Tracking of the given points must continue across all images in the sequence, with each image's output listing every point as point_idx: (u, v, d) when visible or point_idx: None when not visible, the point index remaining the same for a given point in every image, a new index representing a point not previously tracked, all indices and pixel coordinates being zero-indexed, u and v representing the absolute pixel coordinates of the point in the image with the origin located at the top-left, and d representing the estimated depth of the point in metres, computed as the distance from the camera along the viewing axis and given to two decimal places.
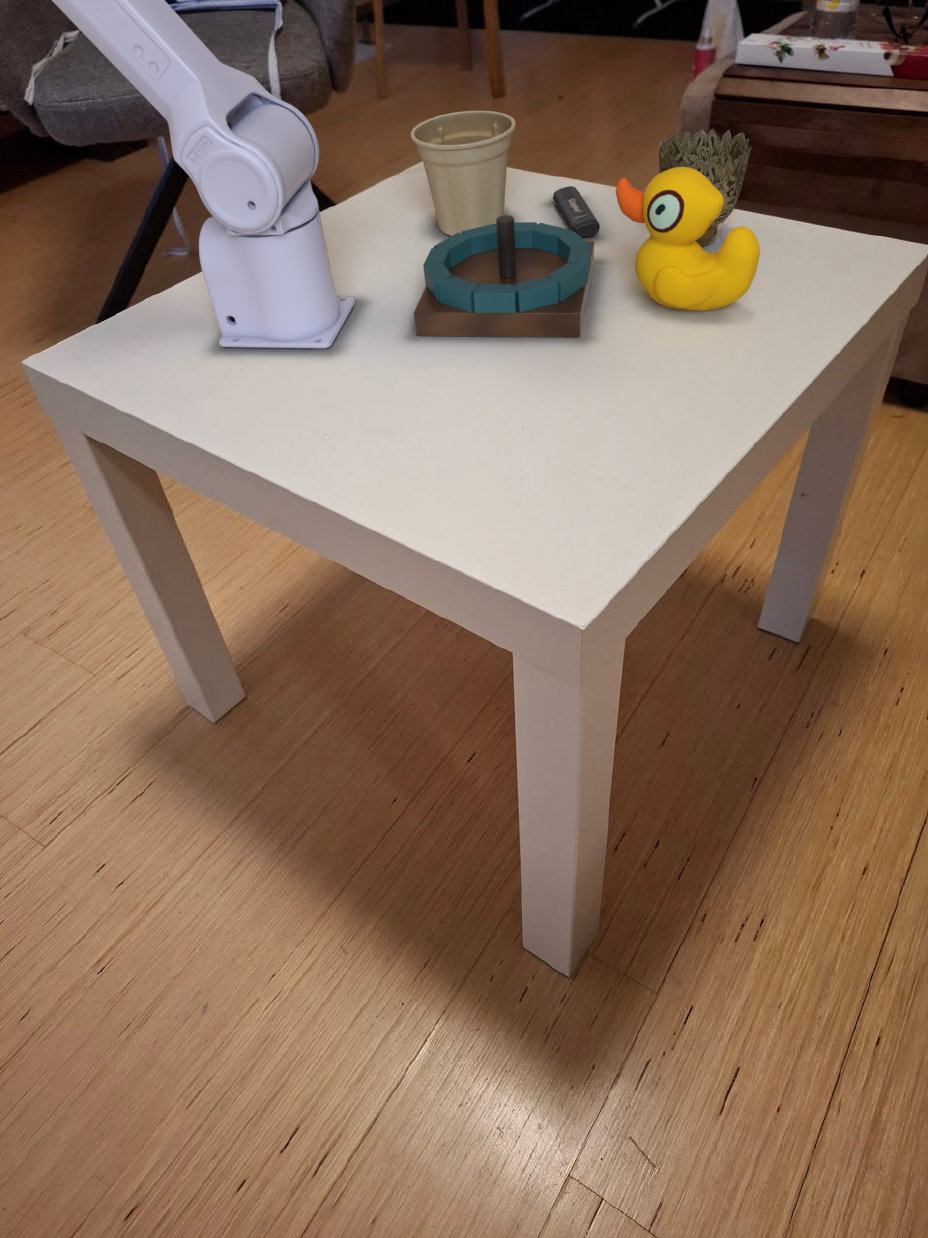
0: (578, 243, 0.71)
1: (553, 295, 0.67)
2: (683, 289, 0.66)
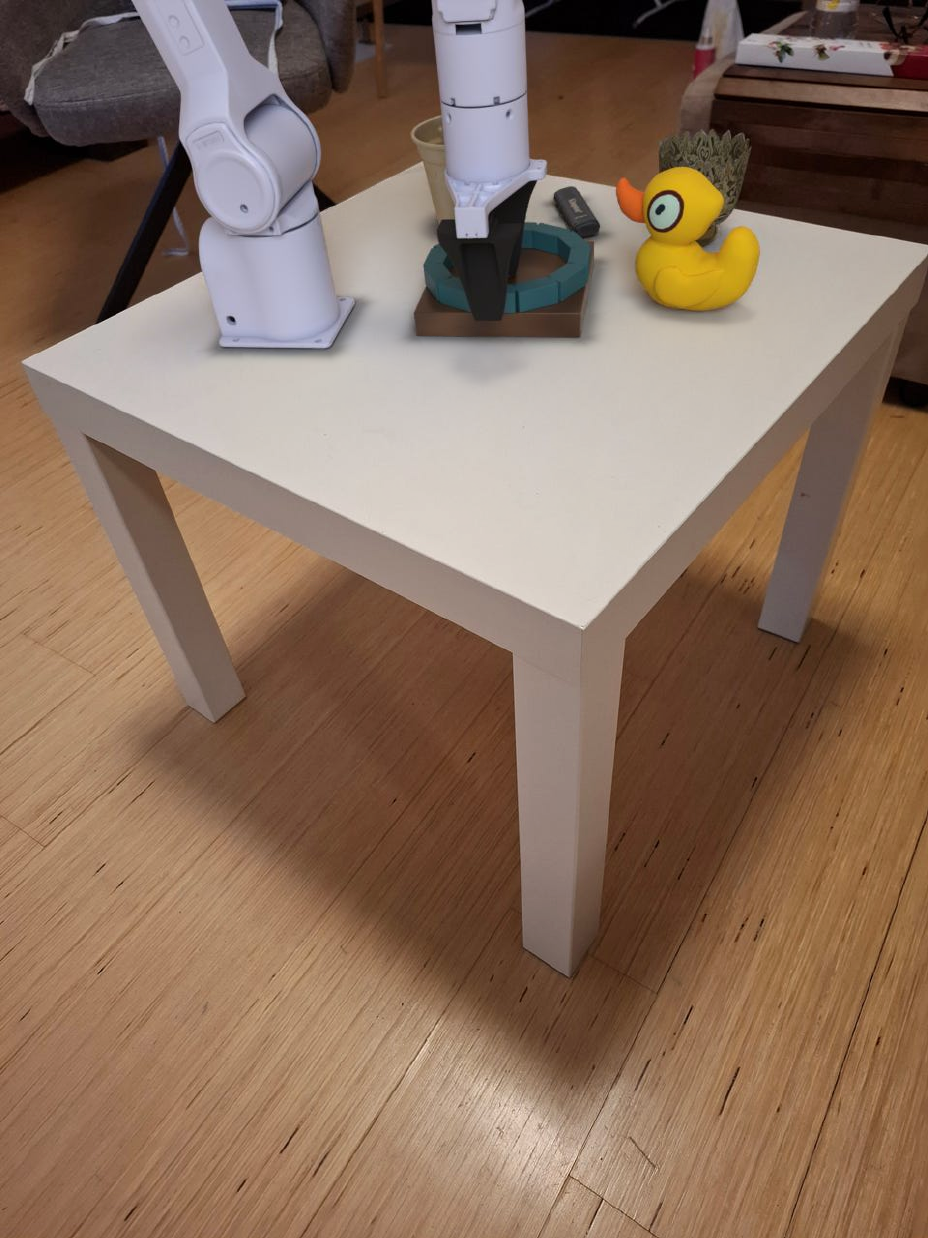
0: (578, 243, 0.71)
1: (553, 295, 0.67)
2: (683, 289, 0.66)
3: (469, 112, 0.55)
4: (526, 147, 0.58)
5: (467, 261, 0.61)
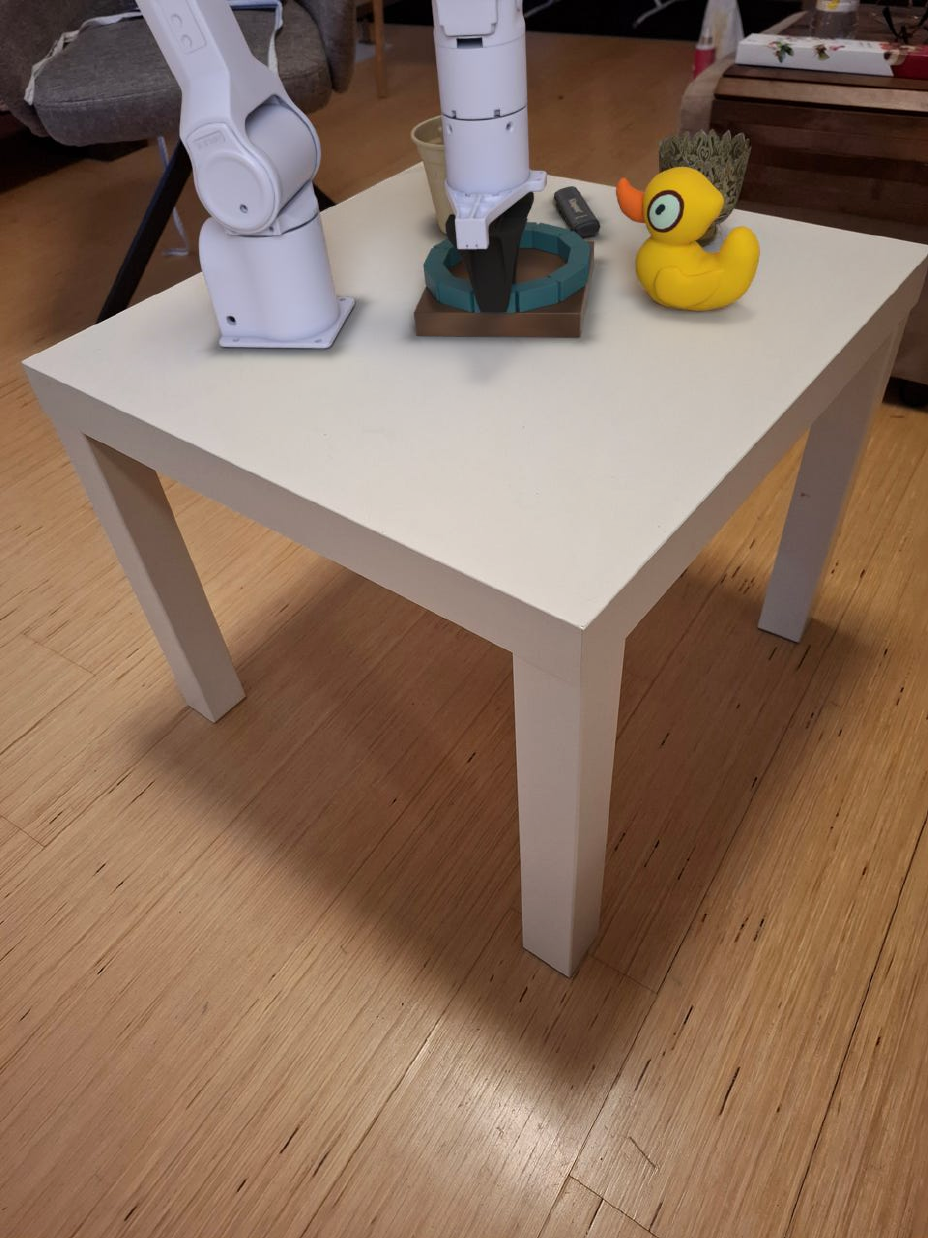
0: (578, 243, 0.71)
1: (553, 294, 0.67)
2: (683, 289, 0.66)
3: (470, 124, 0.56)
4: (526, 159, 0.59)
5: (474, 254, 0.63)
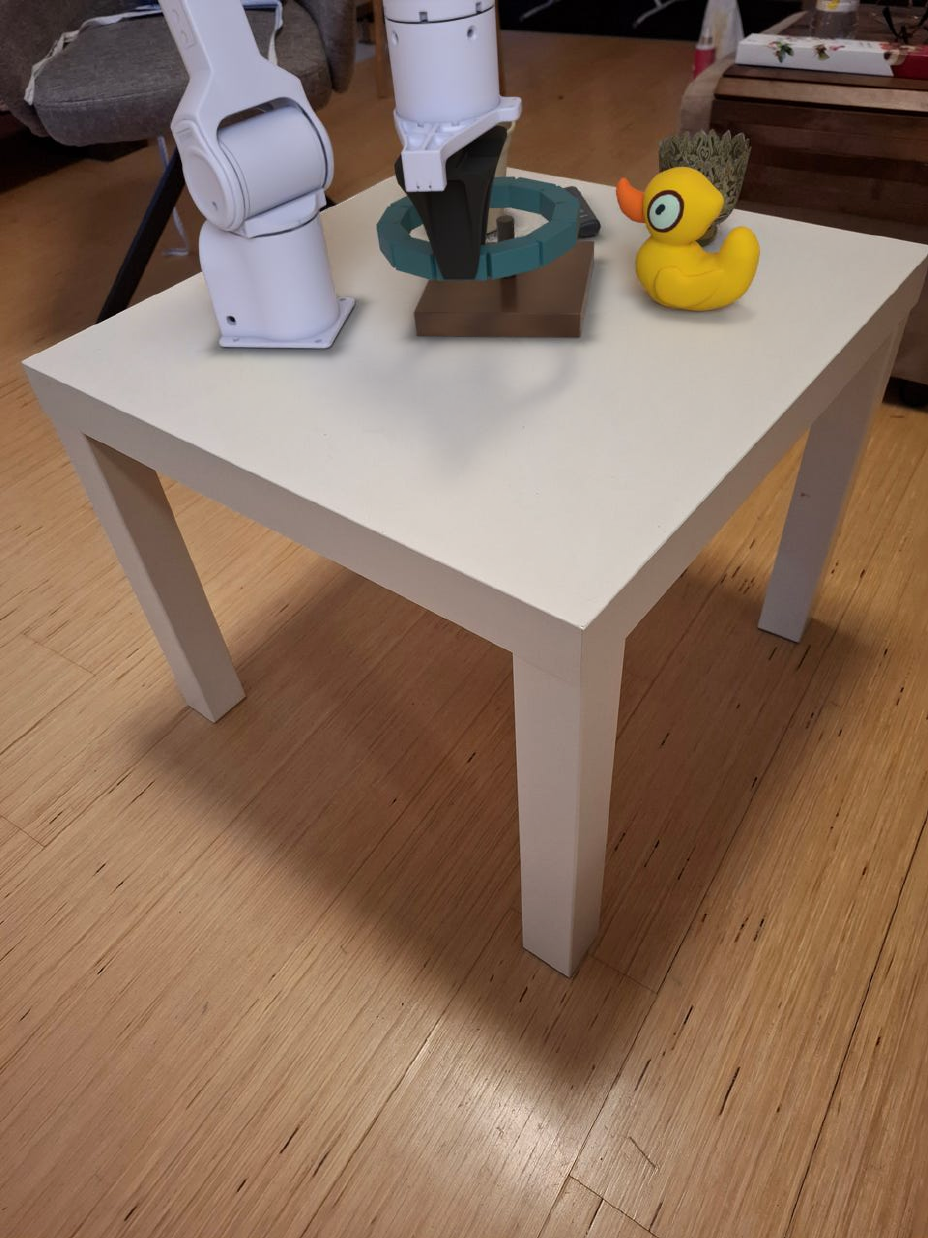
0: (564, 198, 0.58)
1: (533, 258, 0.54)
2: (683, 289, 0.66)
3: (420, 29, 0.43)
4: (495, 79, 0.46)
5: (432, 205, 0.51)
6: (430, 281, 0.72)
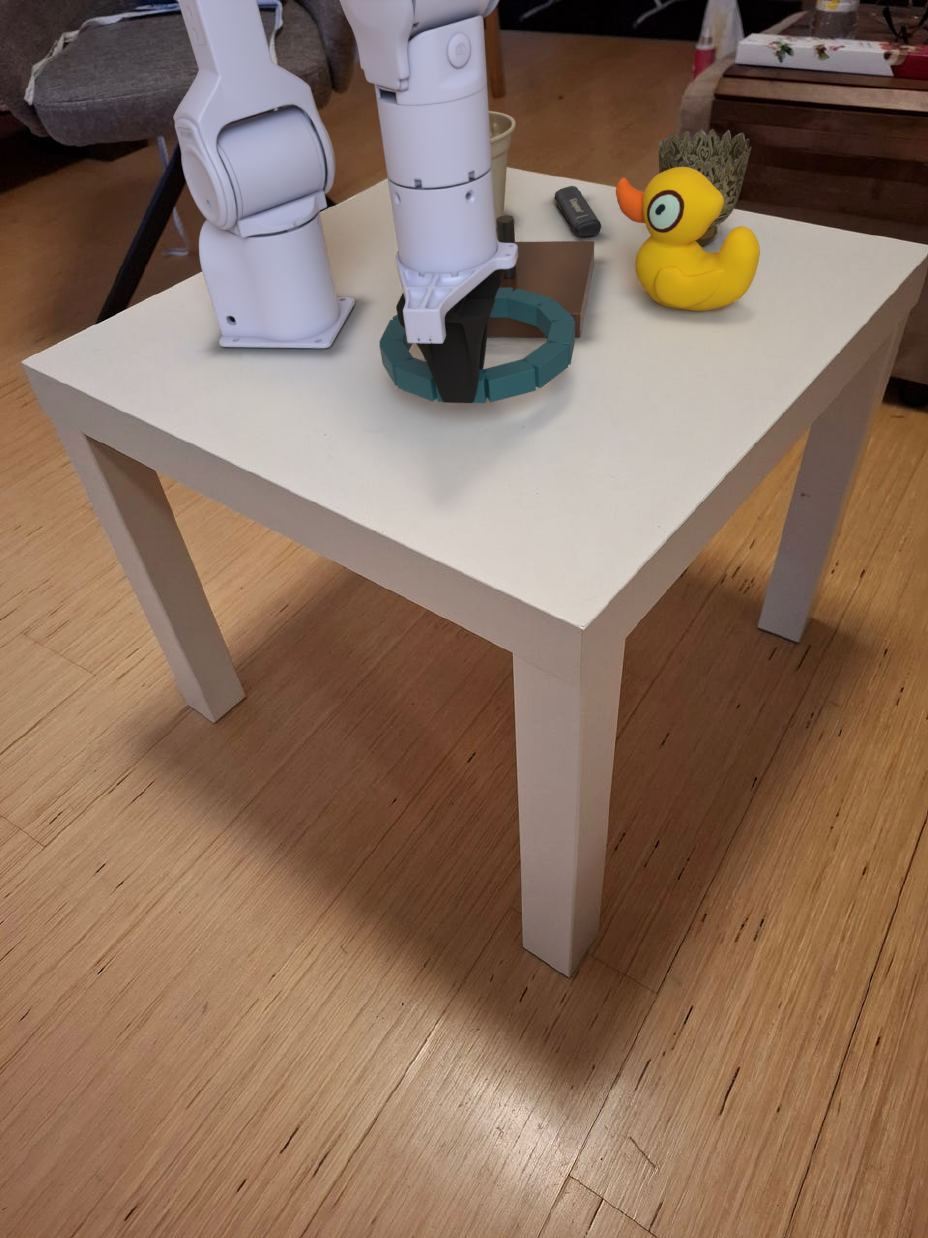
0: (560, 316, 0.61)
1: (530, 381, 0.56)
2: (683, 289, 0.66)
3: (421, 194, 0.46)
4: (492, 231, 0.49)
5: None
6: None
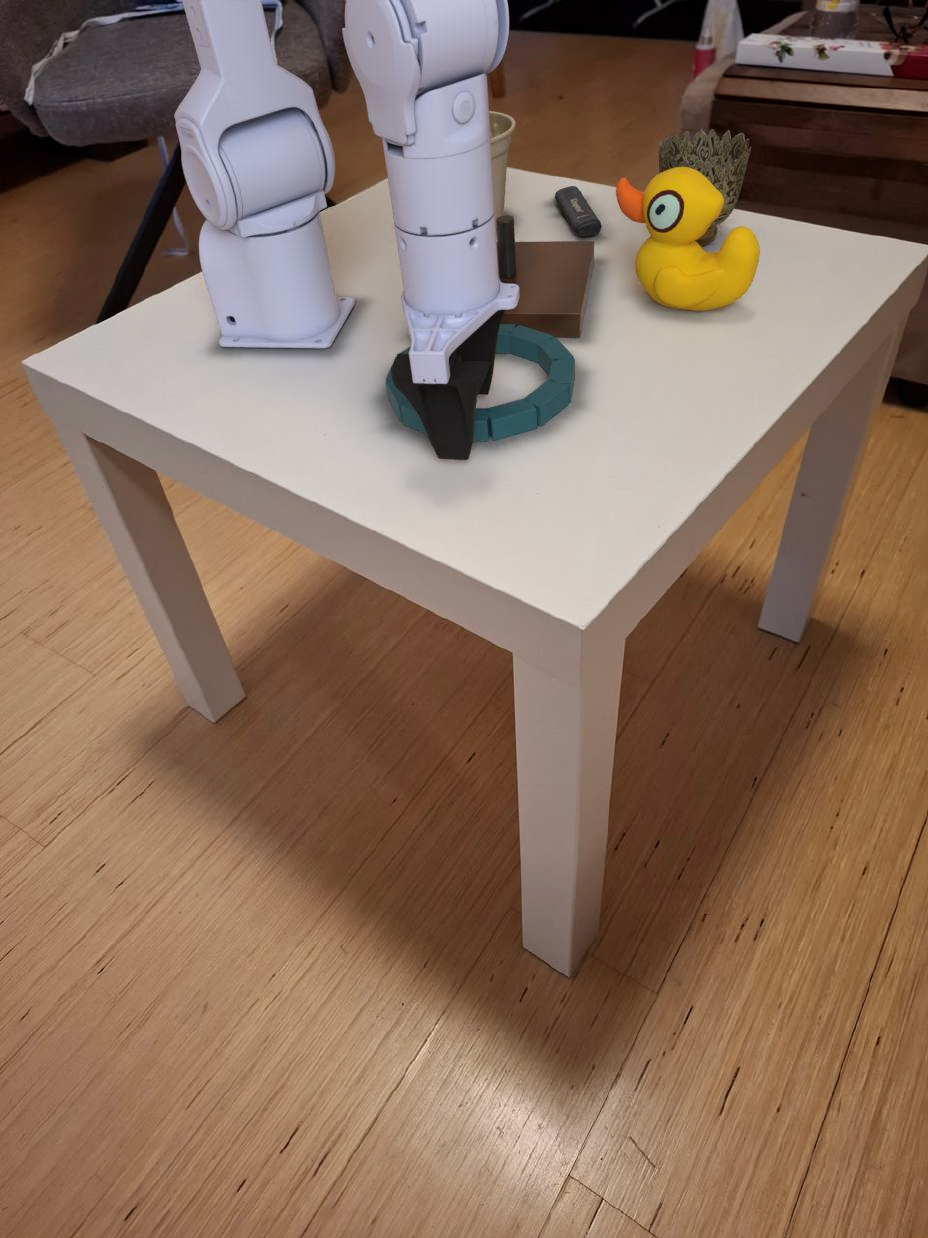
0: (560, 354, 0.63)
1: (531, 420, 0.59)
2: (683, 289, 0.66)
3: (426, 241, 0.47)
4: (494, 274, 0.50)
5: (428, 399, 0.53)
6: None
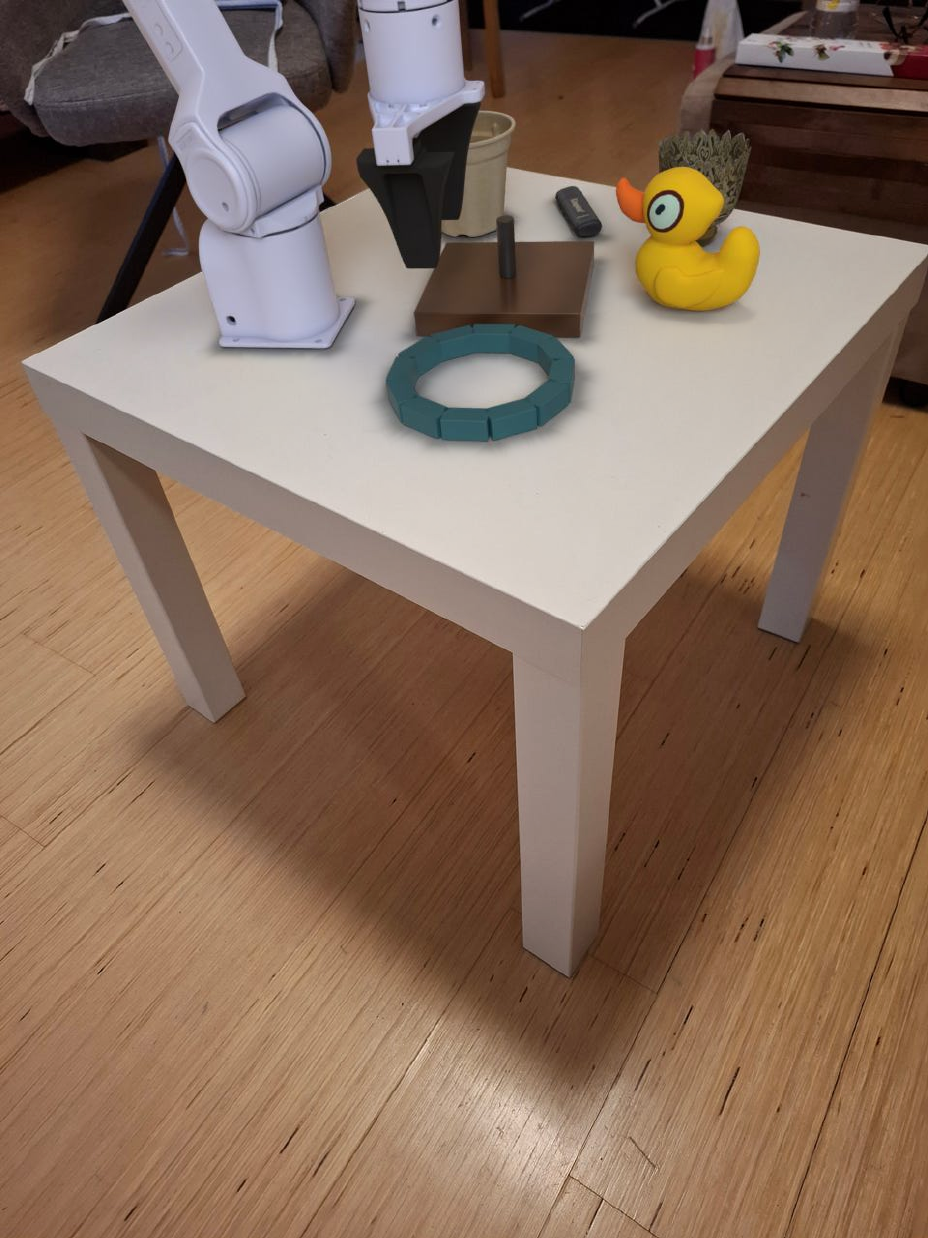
0: (560, 354, 0.63)
1: (531, 420, 0.59)
2: (683, 289, 0.66)
3: (389, 18, 0.48)
4: (459, 64, 0.51)
5: (394, 197, 0.53)
6: (430, 281, 0.72)
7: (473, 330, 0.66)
